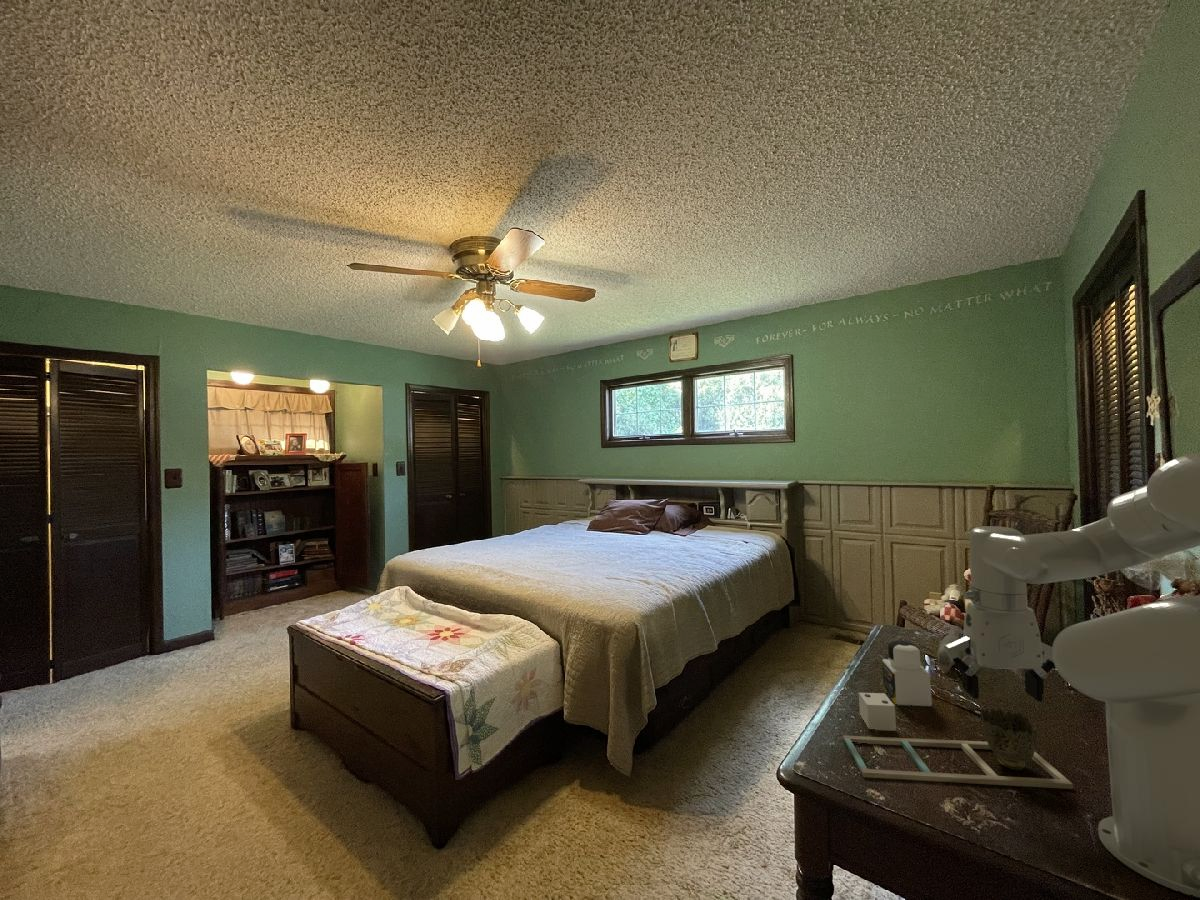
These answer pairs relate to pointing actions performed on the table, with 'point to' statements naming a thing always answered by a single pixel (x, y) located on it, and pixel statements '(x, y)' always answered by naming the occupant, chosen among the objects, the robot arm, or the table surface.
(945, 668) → the decorative bird
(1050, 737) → the table surface
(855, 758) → the ladder
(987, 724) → the dark patterned vase
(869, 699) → the die
